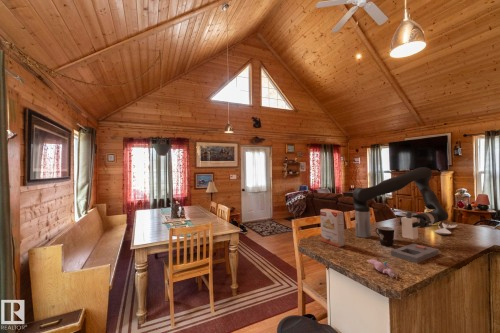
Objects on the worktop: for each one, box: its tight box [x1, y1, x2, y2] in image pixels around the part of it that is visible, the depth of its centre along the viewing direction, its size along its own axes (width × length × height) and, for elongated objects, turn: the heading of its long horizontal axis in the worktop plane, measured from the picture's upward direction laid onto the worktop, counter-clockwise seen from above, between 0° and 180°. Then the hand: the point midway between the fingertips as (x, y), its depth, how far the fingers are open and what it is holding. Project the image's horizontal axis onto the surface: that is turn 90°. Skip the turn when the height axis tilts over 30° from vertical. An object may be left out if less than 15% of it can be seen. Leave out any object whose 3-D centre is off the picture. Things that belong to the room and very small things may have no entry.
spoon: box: [433, 222, 459, 235], centre depth 158 cm, size 9×32×4 cm, turn 129°
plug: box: [400, 211, 419, 240], centre depth 115 cm, size 5×5×13 cm
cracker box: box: [319, 208, 346, 248], centre depth 139 cm, size 14×6×21 cm, turn 27°
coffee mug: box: [374, 226, 395, 248], centre depth 134 cm, size 12×9×10 cm
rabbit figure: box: [366, 259, 402, 280], centre depth 98 cm, size 6×6×15 cm
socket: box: [390, 243, 440, 264], centre depth 116 cm, size 22×12×3 cm, turn 118°
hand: (406, 224), depth 113 cm, fingers closed on plug, 5 cm apart
